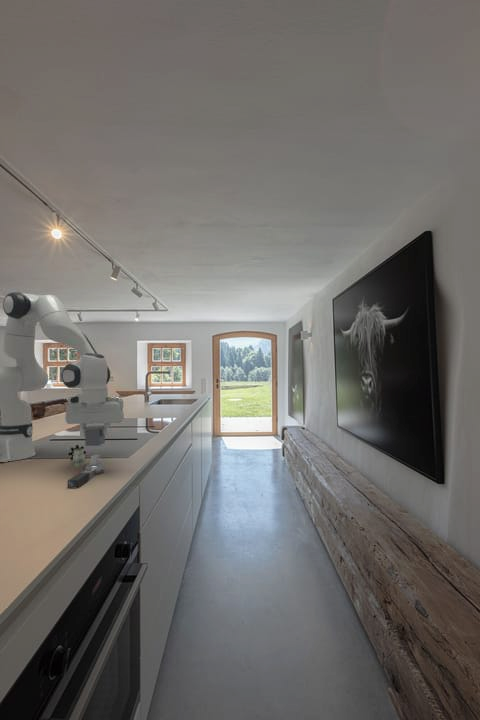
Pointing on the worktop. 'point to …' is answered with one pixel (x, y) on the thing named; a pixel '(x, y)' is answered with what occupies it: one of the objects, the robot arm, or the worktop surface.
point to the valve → (77, 456)
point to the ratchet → (87, 473)
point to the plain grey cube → (94, 435)
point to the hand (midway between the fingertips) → (95, 435)
